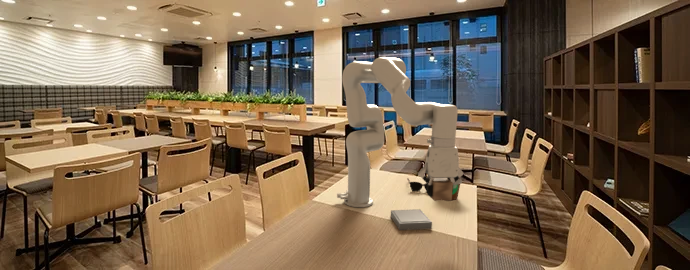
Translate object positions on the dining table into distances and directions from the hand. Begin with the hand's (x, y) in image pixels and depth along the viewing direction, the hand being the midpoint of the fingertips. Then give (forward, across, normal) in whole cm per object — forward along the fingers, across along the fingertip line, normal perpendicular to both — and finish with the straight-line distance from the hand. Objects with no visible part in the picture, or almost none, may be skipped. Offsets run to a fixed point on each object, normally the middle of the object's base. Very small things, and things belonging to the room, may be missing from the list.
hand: (439, 194), depth 110 cm
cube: (+1, 0, 0) cm, 1 cm away
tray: (+15, -5, +12) cm, 20 cm away
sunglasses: (+16, +14, +53) cm, 57 cm away
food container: (+16, +19, +34) cm, 42 cm away
